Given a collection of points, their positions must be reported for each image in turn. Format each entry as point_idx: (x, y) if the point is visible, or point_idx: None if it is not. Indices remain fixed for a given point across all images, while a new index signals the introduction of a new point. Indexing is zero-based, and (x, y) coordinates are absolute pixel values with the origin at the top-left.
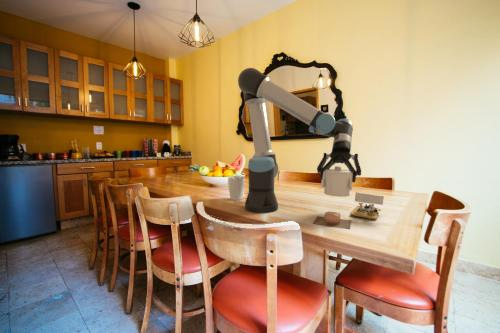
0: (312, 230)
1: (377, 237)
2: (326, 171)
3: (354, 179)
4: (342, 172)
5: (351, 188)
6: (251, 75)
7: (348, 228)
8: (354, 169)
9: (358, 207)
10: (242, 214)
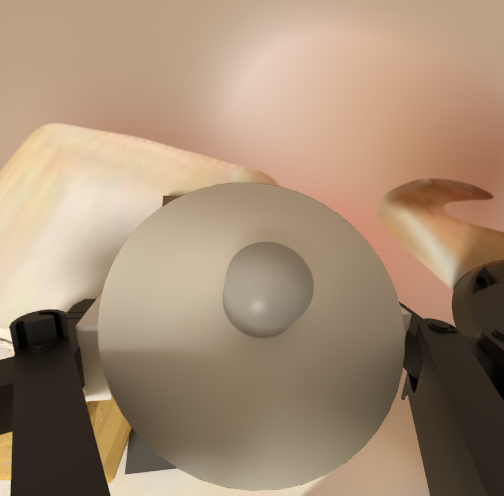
0: None
1: (88, 196)
2: (353, 236)
3: (85, 302)
4: (196, 195)
5: None
6: None
7: (167, 199)
8: (19, 374)
9: (103, 430)
10: (490, 237)
